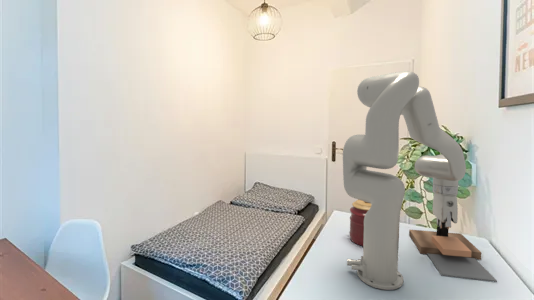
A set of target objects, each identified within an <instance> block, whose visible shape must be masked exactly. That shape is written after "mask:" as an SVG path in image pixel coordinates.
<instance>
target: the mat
mask: <svg viewBox="0 0 534 300" xmlns="http://www.w3.org/2000/svg"><path fill="white" fill-rule="evenodd" d="M426 255H427V257H428V258H429V259H430V261H431V263H432V264H433V265H434V267H435V268H436V269H437V271H438V273H439V274H440V276H441V277H449V278H456V279H457V278H458V279H459V278H460V279H464V280H467V279H468V280H472V281H473V280H474V281H475V280H476V281H483V282H490V281H494V282H493V283H497V282H498V280H497V279H496V278H495V277H494V276H493V274H491V273H490V272H489V271H488V270H487V269H486V268H485V267H484V266H483V264H481V263H480V262H479V261H478V259H475V258H469V257H459V256H449V255H439V254H429V253H427V254H426Z"/></svg>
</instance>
